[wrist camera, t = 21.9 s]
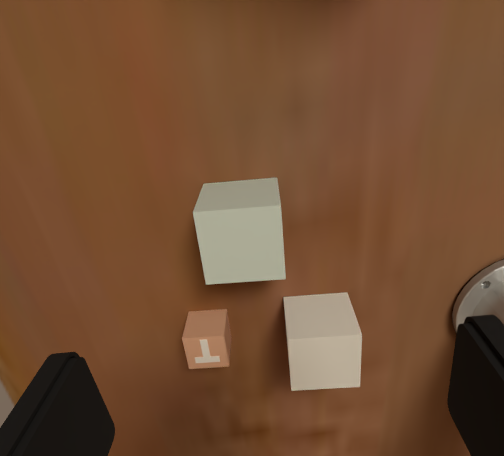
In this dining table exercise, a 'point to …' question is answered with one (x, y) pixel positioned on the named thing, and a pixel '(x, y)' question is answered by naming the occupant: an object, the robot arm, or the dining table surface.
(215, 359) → the letter block
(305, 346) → the cream cube
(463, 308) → the robot arm
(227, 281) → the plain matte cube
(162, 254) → the dining table surface
